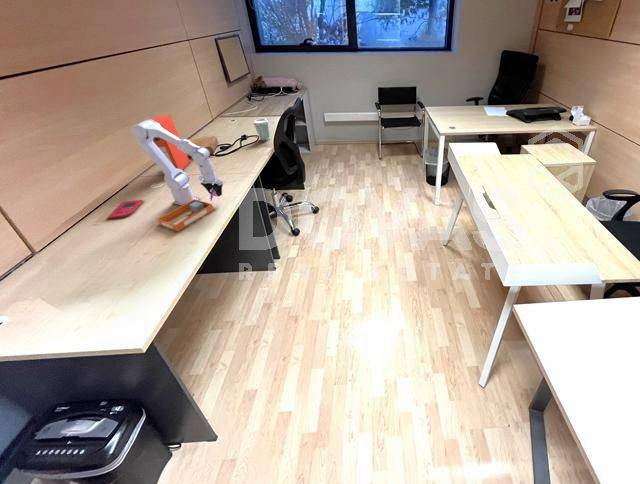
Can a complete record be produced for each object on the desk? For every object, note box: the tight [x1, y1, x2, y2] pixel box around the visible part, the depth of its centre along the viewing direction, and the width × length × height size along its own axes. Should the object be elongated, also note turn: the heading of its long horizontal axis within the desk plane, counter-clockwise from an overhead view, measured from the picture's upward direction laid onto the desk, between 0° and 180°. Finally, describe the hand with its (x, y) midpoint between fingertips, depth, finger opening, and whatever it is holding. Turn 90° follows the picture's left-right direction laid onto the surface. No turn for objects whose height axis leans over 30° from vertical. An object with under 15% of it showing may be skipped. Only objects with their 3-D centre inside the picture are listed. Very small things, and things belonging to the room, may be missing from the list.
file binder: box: [151, 114, 190, 171], centre depth 197 cm, size 8×17×32 cm, turn 12°
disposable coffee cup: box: [253, 118, 270, 141], centre depth 244 cm, size 11×11×15 cm
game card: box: [209, 188, 218, 202], centre depth 167 cm, size 7×5×9 cm
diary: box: [187, 135, 219, 158], centre depth 229 cm, size 23×19×6 cm
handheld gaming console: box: [107, 199, 143, 220], centre depth 164 cm, size 10×1×15 cm
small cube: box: [189, 201, 205, 213], centre depth 161 cm, size 5×4×4 cm
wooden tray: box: [157, 199, 215, 232], centre depth 157 cm, size 13×20×4 cm, turn 156°
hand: (215, 194), depth 168 cm, fingers closed on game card, 5 cm apart
